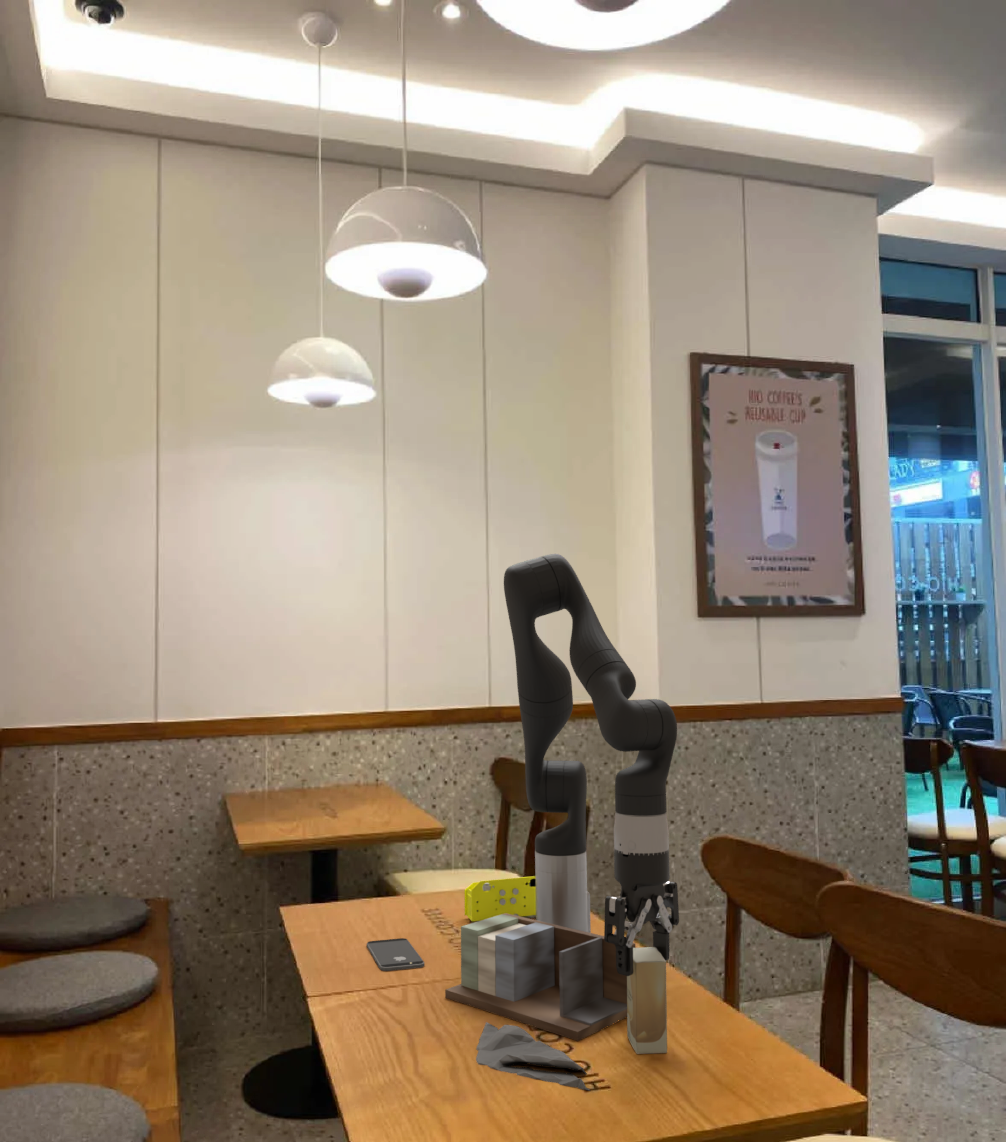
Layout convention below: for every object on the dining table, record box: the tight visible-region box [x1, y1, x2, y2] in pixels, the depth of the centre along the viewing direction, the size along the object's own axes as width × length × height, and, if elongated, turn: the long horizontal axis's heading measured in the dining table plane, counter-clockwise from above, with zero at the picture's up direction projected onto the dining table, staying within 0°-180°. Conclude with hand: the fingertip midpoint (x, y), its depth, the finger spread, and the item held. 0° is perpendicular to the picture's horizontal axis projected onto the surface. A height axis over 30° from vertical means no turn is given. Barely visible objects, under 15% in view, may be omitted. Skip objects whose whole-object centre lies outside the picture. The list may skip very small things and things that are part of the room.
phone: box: [366, 937, 425, 972], centre depth 178 cm, size 8×1×16 cm
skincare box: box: [626, 946, 668, 1055], centre depth 138 cm, size 6×4×12 cm
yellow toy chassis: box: [464, 875, 536, 922], centre depth 202 cm, size 16×6×8 cm, turn 109°
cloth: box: [475, 1021, 591, 1092], centre depth 134 cm, size 26×14×2 cm, turn 18°
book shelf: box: [444, 913, 636, 1042], centre depth 153 cm, size 14×26×10 cm, turn 48°
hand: (643, 967), depth 138 cm, fingers open, 8 cm apart
